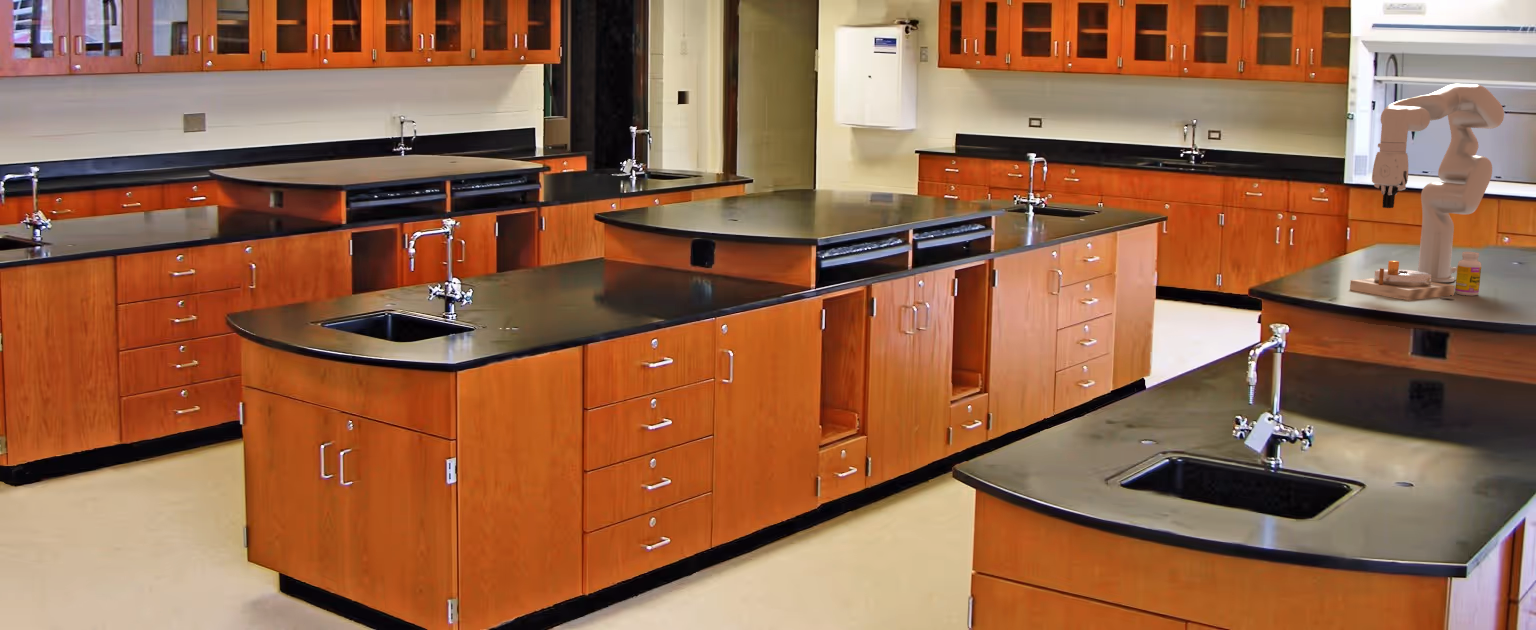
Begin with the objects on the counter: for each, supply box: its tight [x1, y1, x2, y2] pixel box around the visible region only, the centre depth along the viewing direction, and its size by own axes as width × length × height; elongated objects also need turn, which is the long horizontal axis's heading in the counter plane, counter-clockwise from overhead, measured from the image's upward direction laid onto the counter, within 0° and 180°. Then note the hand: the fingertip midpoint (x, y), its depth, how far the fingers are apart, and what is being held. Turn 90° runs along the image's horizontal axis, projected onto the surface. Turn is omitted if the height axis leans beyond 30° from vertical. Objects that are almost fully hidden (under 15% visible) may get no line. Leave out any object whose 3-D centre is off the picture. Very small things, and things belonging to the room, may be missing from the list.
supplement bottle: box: [1454, 251, 1482, 297], centre depth 473 cm, size 7×7×13 cm
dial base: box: [1349, 267, 1455, 301], centre depth 475 cm, size 21×21×8 cm
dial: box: [1373, 260, 1431, 287], centre depth 474 cm, size 16×16×7 cm
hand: (1387, 207), depth 480 cm, fingers closed
